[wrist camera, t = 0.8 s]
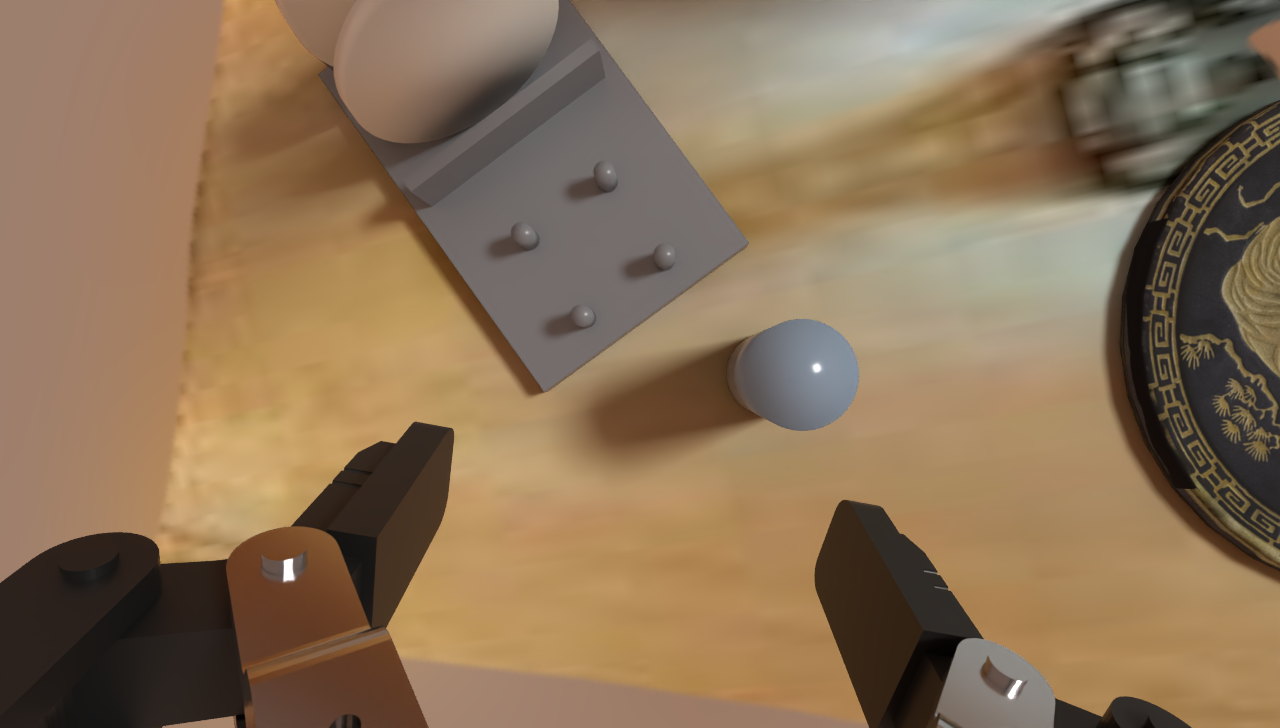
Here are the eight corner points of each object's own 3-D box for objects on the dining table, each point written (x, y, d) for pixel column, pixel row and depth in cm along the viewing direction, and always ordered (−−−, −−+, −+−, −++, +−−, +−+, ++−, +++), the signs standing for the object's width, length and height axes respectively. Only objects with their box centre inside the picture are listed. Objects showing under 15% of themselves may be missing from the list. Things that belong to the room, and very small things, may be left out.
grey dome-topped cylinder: (777, 316, 36) (814, 296, 27) (826, 383, 36) (881, 387, 27) (710, 364, 36) (723, 362, 27) (758, 431, 36) (789, 453, 27)
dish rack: (518, -61, 37) (435, -297, 24) (746, 246, 36) (789, 176, 23) (329, 83, 38) (146, -70, 25) (548, 391, 37) (479, 402, 24)
